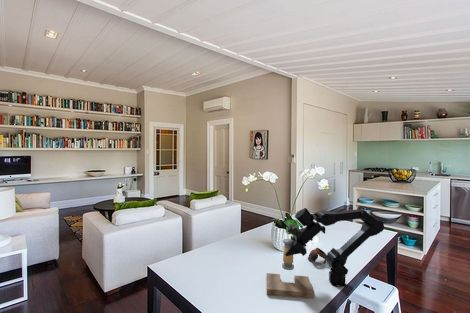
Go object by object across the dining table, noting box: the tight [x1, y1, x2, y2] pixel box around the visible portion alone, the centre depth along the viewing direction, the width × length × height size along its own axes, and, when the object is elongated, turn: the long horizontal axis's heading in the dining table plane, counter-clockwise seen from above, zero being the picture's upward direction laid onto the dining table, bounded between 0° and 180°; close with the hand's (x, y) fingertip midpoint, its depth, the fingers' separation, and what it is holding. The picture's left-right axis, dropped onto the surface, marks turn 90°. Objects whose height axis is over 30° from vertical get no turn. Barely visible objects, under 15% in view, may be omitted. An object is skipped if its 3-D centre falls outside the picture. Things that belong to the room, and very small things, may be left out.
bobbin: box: [281, 238, 295, 271], centre depth 120 cm, size 6×6×13 cm
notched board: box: [265, 272, 315, 300], centre depth 114 cm, size 20×14×2 cm
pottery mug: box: [307, 247, 327, 264], centre depth 141 cm, size 12×10×8 cm
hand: (285, 253), depth 120 cm, fingers closed on bobbin, 5 cm apart
